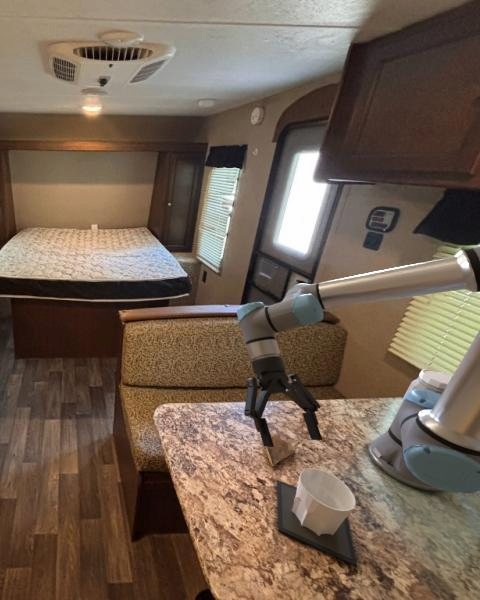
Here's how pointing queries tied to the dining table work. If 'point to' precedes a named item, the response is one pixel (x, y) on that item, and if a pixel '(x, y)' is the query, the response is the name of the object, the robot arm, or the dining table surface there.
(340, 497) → the cup
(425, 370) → the jar
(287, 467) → the dining table surface
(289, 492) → the mat
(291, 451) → the shard
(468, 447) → the robot arm
